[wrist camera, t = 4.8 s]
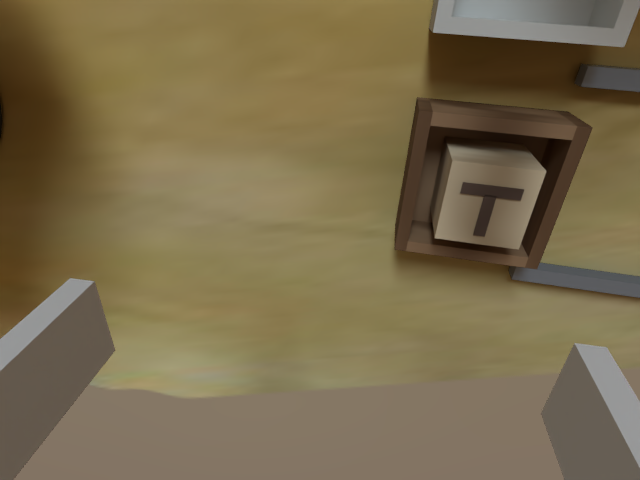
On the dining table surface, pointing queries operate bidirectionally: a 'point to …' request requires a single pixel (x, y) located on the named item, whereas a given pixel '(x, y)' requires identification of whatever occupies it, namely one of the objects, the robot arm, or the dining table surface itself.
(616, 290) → the slate bay
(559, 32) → the grey tub
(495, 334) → the dining table surface
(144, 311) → the dining table surface
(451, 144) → the letter cube
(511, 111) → the walnut box
